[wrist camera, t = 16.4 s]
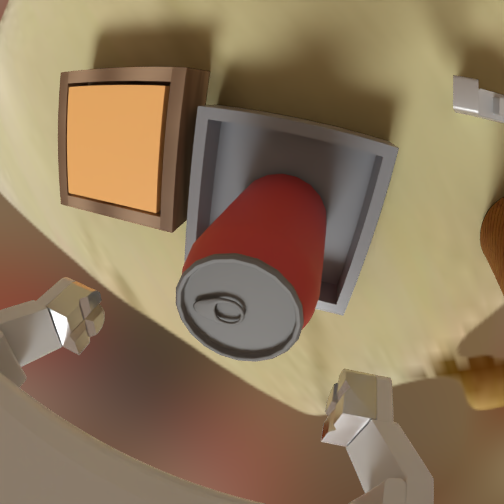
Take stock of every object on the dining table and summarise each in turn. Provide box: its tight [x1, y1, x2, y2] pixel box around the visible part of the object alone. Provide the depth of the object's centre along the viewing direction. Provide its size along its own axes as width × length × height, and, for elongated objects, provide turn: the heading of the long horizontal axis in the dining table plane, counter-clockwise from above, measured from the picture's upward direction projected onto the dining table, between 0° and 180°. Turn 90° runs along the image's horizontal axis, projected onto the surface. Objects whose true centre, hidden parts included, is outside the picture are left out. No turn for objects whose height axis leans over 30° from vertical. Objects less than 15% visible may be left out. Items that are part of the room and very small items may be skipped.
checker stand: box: [58, 67, 210, 233], centre depth 22 cm, size 12×12×4 cm
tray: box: [184, 105, 399, 315], centre depth 22 cm, size 13×13×4 cm
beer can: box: [176, 174, 327, 361], centre depth 18 cm, size 7×7×12 cm
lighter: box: [453, 75, 504, 123], centre depth 13 cm, size 7×2×8 cm, turn 93°
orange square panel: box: [67, 85, 170, 213], centre depth 21 cm, size 9×9×1 cm
